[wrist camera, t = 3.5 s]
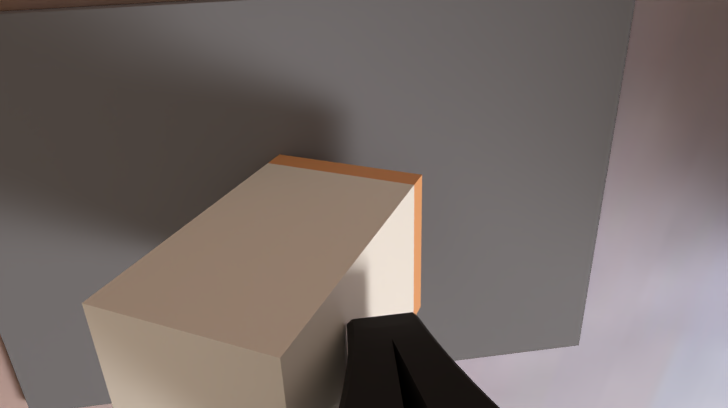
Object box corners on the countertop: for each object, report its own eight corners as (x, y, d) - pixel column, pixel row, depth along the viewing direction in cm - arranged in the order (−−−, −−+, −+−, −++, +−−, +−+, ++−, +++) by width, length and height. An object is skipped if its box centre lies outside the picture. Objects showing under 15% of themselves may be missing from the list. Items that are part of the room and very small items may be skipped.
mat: (630, -25, 16) (639, -23, 16) (573, 337, 22) (578, 345, 21) (-112, 17, 14) (-121, 20, 14) (35, 403, 20) (30, 413, 19)
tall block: (421, 174, 15) (280, 357, 9) (420, 306, 17) (301, 526, 11) (279, 154, 17) (81, 303, 11) (292, 278, 18) (128, 460, 13)
